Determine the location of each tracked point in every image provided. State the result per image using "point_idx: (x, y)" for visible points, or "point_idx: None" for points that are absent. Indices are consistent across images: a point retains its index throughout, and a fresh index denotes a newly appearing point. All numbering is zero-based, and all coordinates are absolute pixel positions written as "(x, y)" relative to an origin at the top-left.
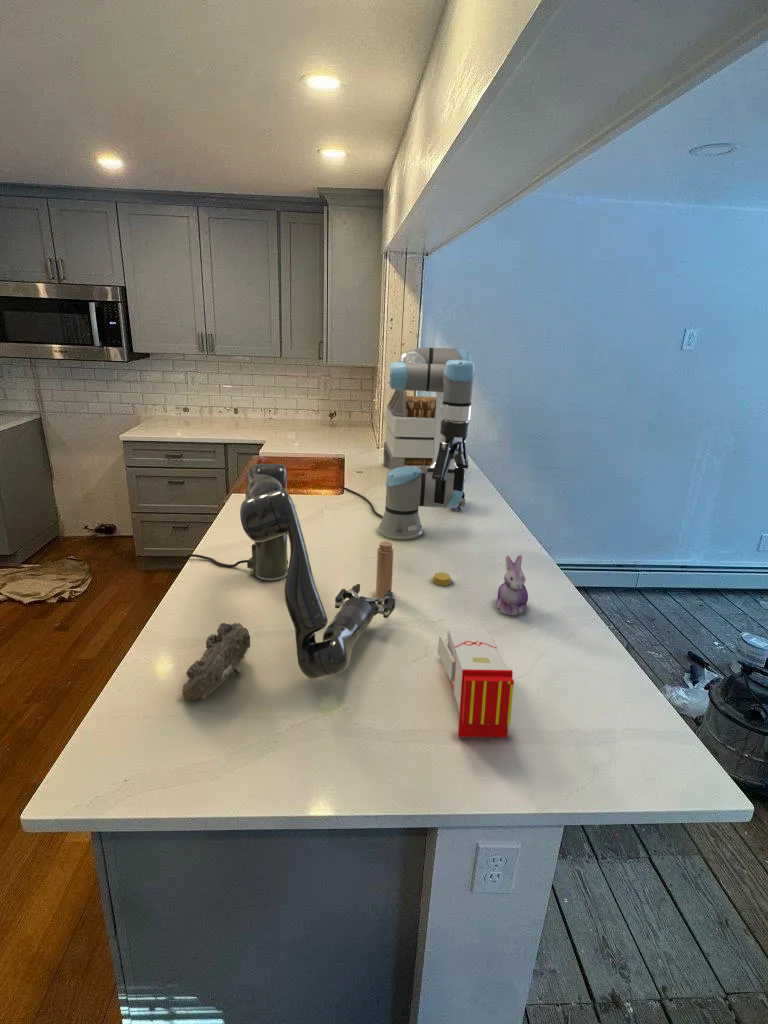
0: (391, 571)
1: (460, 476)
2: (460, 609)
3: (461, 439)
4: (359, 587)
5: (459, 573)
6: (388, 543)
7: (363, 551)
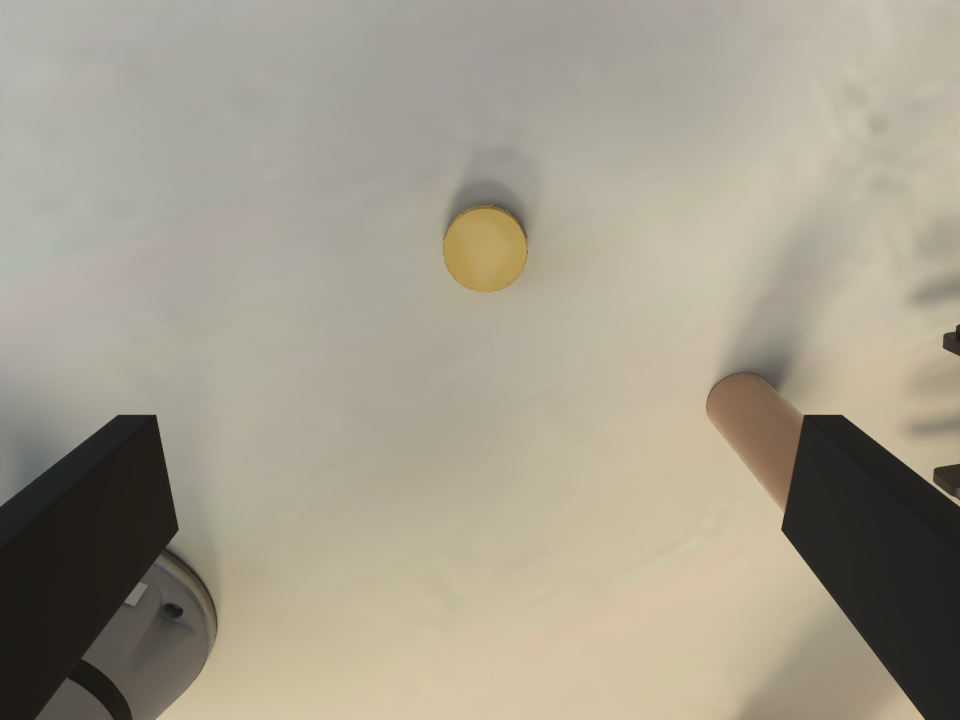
0: None
1: (8, 603)
2: (710, 49)
3: None
4: (951, 479)
5: (344, 205)
6: None
7: (404, 638)
